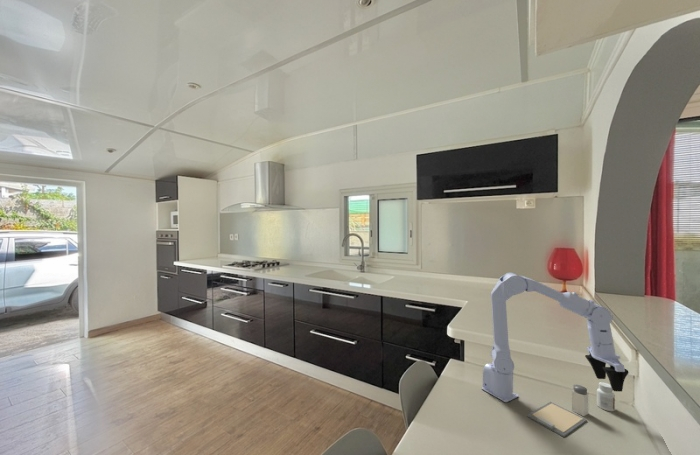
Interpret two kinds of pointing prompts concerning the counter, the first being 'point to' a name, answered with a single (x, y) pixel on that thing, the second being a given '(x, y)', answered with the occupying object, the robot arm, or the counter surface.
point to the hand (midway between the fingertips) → (609, 384)
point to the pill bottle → (605, 397)
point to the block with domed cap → (580, 400)
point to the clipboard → (557, 419)
